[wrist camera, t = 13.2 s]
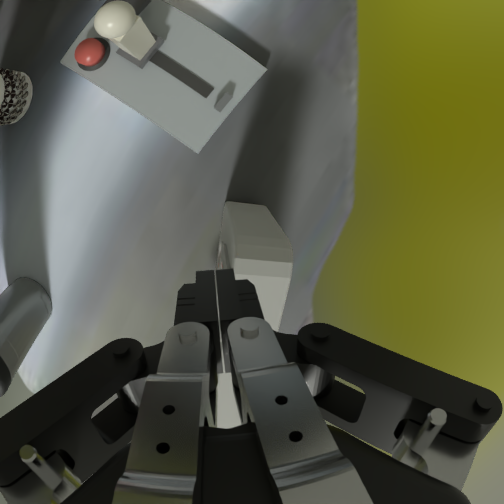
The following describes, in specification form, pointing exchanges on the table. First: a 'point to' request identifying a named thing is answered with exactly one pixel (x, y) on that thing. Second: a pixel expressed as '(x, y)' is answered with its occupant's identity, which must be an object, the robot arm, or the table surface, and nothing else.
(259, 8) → the table surface
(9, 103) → the decorative candle
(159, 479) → the robot arm
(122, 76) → the switch console
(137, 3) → the rocker
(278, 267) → the rounded white slab
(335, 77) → the table surface
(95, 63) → the button
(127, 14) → the slide lever
